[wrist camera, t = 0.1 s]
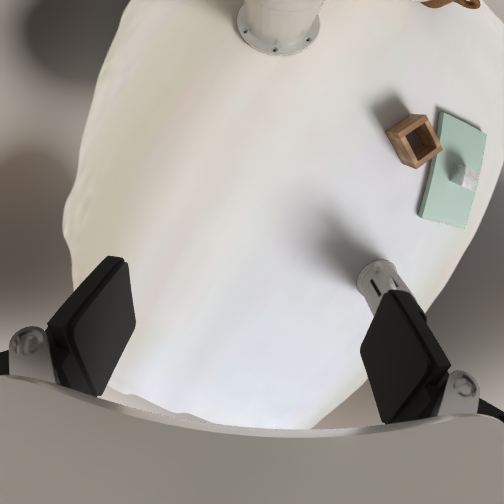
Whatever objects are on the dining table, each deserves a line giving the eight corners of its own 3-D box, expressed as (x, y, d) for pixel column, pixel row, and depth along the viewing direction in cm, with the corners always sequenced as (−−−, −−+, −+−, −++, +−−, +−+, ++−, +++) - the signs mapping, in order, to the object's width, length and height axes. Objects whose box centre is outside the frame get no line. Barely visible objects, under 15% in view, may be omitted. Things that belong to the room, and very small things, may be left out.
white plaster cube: (453, 162, 39) (466, 166, 35) (466, 167, 39) (479, 172, 35) (449, 180, 40) (461, 186, 37) (462, 185, 40) (474, 191, 37)
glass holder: (364, 304, 54) (387, 356, 40) (340, 249, 49) (366, 298, 35) (401, 285, 52) (432, 333, 38) (382, 228, 47) (421, 269, 33)
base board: (439, 112, 36) (444, 112, 35) (482, 133, 37) (486, 134, 35) (417, 215, 45) (421, 218, 44) (460, 226, 45) (464, 229, 44)
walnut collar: (384, 131, 39) (397, 133, 35) (411, 114, 37) (426, 114, 33) (402, 163, 41) (416, 169, 37) (427, 145, 39) (442, 149, 35)
